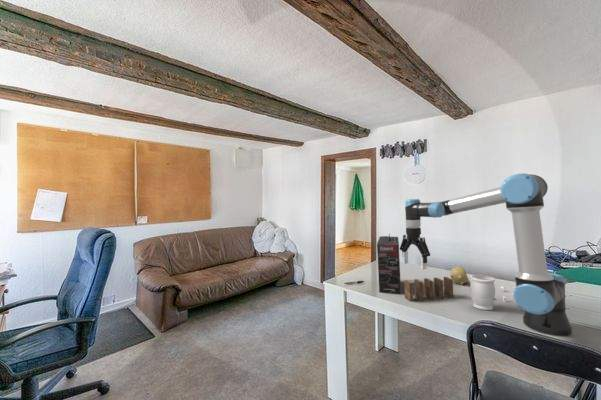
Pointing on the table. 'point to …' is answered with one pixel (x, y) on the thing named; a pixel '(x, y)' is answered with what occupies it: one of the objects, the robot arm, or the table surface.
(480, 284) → the jar
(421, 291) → the domino
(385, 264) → the headset box
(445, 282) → the domino
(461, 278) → the yellow lumpy round lump
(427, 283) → the domino
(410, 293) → the domino
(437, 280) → the domino
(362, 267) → the table surface
